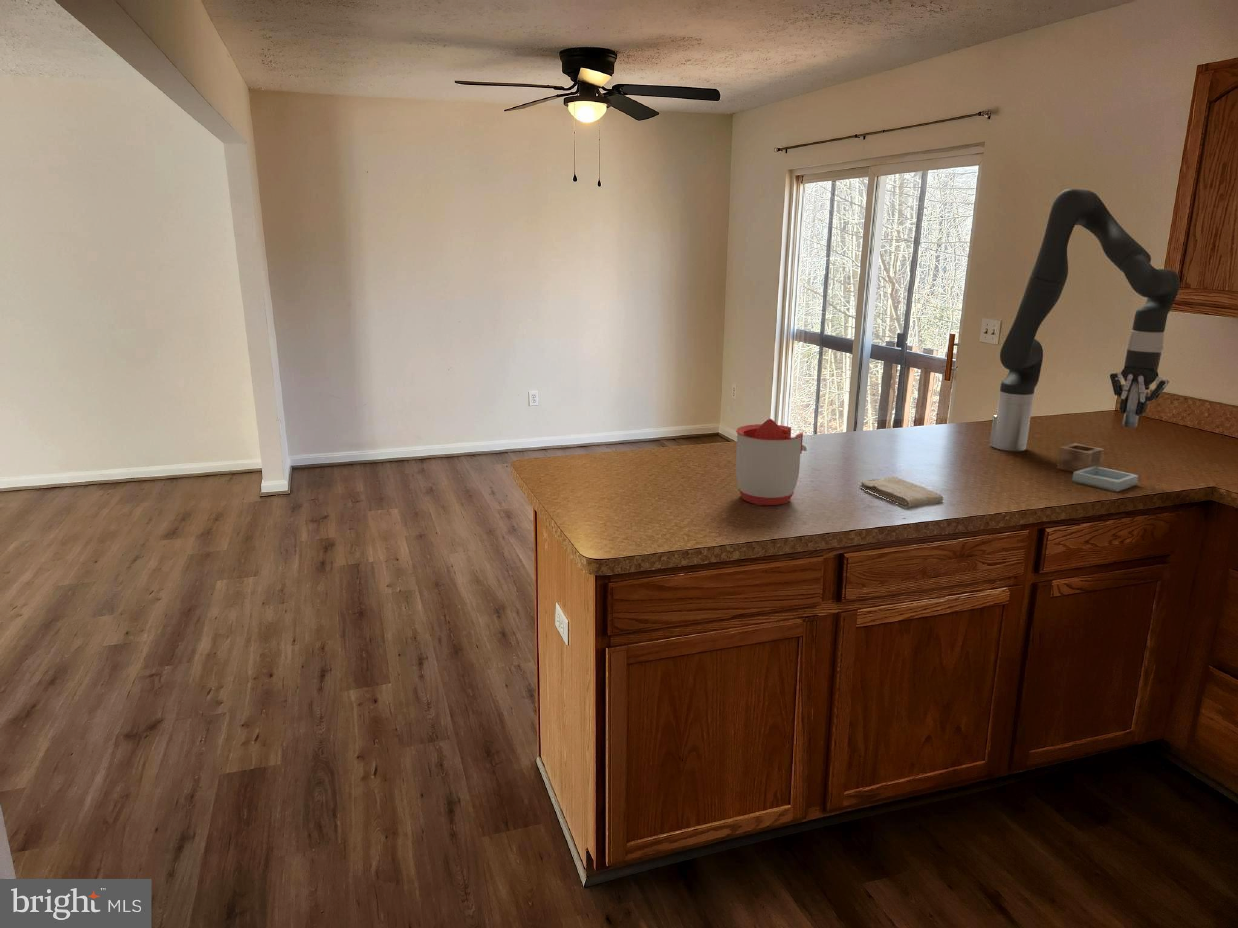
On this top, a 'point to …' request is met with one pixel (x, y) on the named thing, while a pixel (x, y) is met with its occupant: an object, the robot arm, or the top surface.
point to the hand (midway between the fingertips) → (1131, 414)
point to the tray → (1105, 478)
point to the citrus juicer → (767, 462)
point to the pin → (1132, 406)
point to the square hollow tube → (1079, 457)
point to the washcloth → (902, 492)
